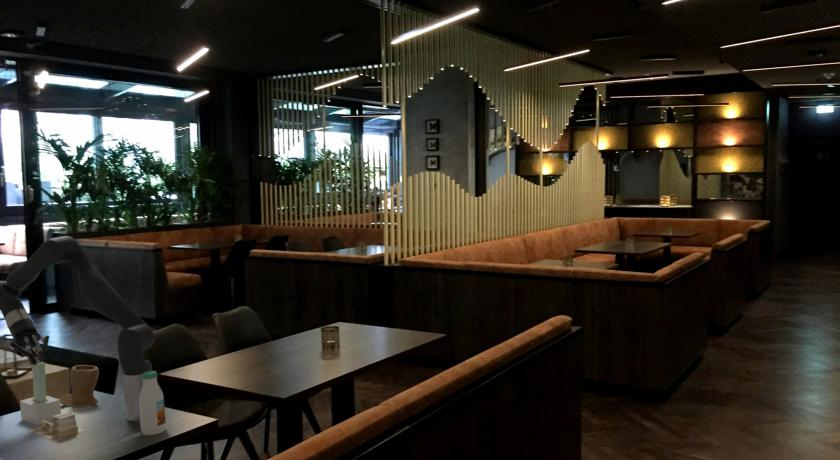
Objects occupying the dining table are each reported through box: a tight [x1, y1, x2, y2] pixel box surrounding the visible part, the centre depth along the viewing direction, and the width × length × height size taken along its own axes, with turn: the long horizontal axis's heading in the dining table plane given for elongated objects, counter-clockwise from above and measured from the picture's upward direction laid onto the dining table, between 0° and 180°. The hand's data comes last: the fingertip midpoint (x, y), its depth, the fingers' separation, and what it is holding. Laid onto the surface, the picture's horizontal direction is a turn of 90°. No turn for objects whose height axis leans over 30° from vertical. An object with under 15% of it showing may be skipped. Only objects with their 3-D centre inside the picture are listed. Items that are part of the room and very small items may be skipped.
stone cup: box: [57, 364, 100, 408], centre depth 252 cm, size 15×12×15 cm
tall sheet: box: [31, 359, 47, 403], centre depth 232 cm, size 5×2×14 cm, turn 54°
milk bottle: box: [139, 370, 167, 436], centre depth 219 cm, size 8×8×20 cm
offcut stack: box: [51, 411, 79, 438], centre depth 217 cm, size 6×6×6 cm
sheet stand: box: [19, 394, 62, 426], centre depth 233 cm, size 12×8×8 cm, turn 54°
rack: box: [30, 420, 87, 442], centre depth 220 cm, size 18×10×4 cm, turn 54°
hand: (39, 362), depth 231 cm, fingers closed on tall sheet, 2 cm apart
